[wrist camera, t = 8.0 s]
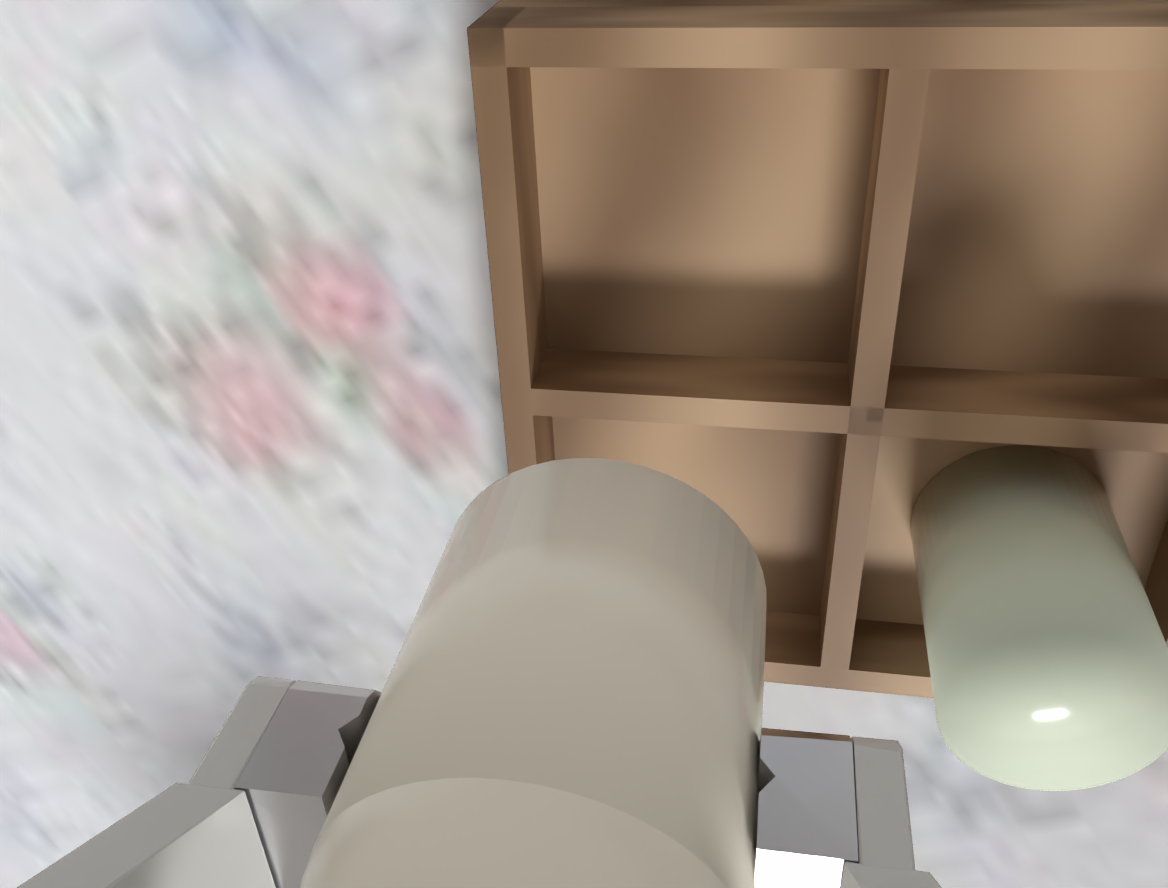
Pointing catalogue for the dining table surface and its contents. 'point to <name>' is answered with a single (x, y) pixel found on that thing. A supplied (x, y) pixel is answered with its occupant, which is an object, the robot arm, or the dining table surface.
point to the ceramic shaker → (567, 699)
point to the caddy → (833, 271)
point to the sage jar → (1037, 623)
